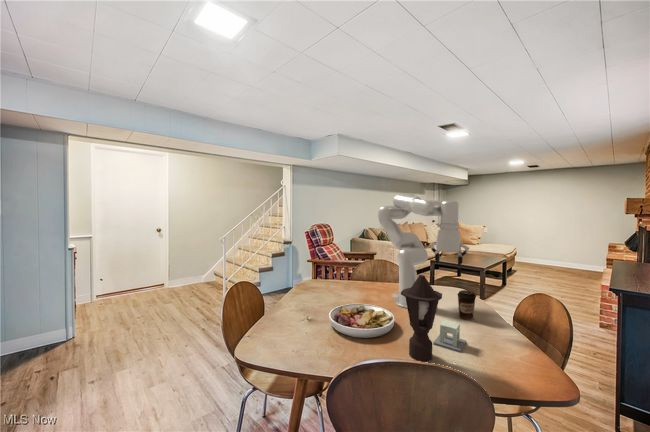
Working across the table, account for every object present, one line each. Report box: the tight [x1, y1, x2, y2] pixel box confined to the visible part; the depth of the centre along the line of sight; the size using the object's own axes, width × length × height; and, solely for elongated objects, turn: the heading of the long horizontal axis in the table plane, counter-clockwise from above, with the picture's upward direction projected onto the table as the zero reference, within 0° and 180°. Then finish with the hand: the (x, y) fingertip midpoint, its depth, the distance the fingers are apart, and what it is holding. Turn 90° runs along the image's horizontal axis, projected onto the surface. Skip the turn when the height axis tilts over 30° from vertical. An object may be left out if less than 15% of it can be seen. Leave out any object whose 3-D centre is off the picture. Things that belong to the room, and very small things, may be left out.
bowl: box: [328, 303, 395, 339], centre depth 130 cm, size 30×30×8 cm
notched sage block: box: [439, 319, 461, 346], centre depth 113 cm, size 6×6×7 cm
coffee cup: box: [456, 289, 477, 321], centre depth 138 cm, size 9×8×13 cm
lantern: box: [401, 274, 443, 363], centre depth 103 cm, size 15×15×30 cm
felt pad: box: [432, 334, 467, 353], centre depth 113 cm, size 10×10×1 cm
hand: (448, 263), depth 131 cm, fingers open, 9 cm apart
